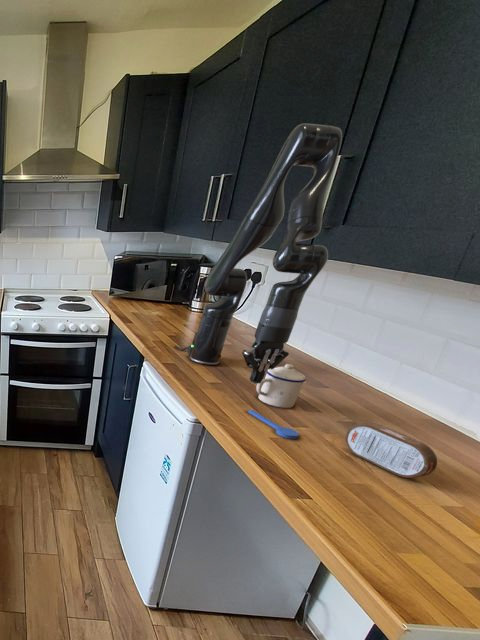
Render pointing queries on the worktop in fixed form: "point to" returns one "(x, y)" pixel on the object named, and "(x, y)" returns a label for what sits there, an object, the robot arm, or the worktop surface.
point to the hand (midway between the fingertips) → (254, 382)
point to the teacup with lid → (281, 386)
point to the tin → (391, 450)
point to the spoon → (276, 427)
